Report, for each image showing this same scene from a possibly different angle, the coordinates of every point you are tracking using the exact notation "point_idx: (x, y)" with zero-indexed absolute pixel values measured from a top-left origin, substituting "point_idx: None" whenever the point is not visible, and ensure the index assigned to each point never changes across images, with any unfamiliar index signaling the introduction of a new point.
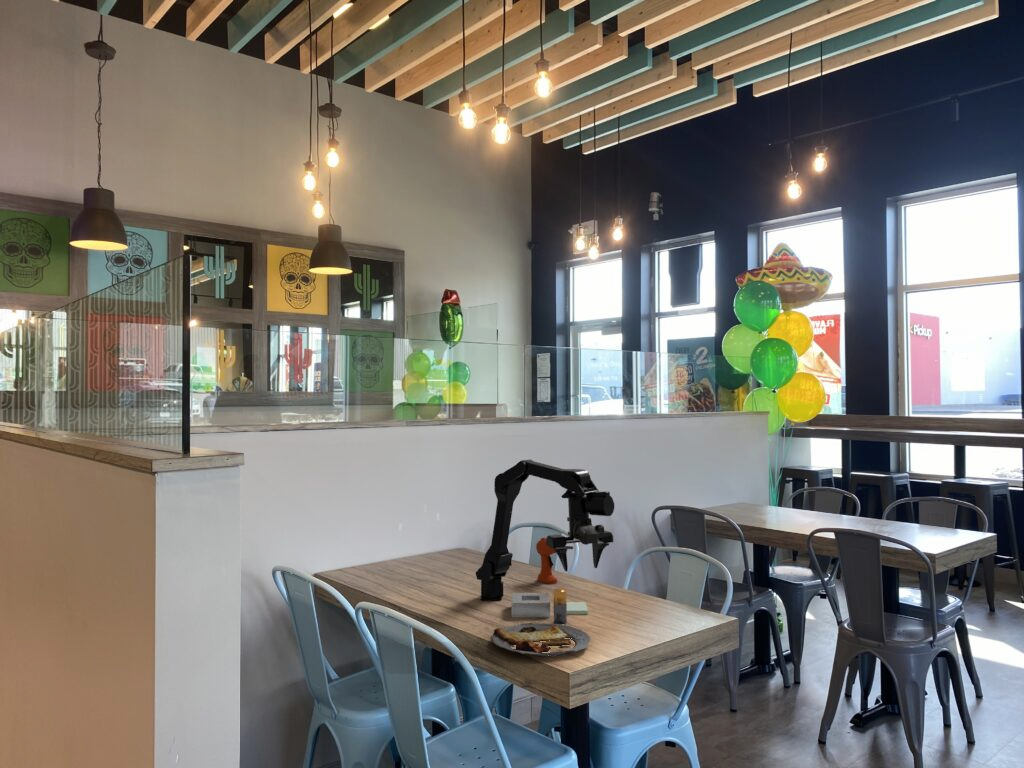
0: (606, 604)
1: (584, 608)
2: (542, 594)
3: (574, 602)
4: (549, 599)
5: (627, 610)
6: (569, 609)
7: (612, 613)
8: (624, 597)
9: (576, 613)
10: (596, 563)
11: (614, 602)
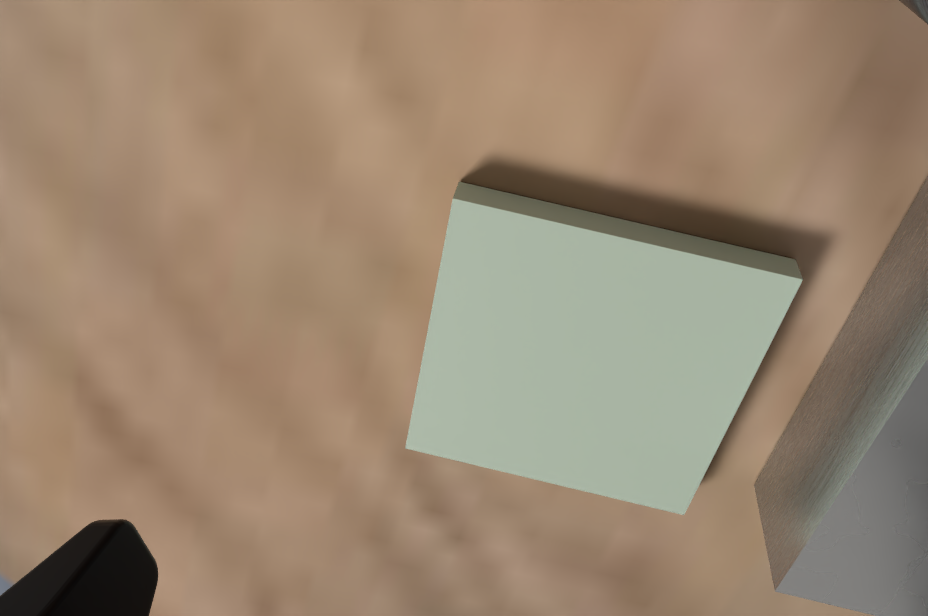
0: (224, 407)
1: (472, 278)
2: (874, 569)
3: (511, 464)
4: (905, 399)
5: (47, 206)
6: (644, 284)
7: (202, 147)
8: (65, 515)
9: (584, 214)
10: (42, 604)
11: (151, 435)
